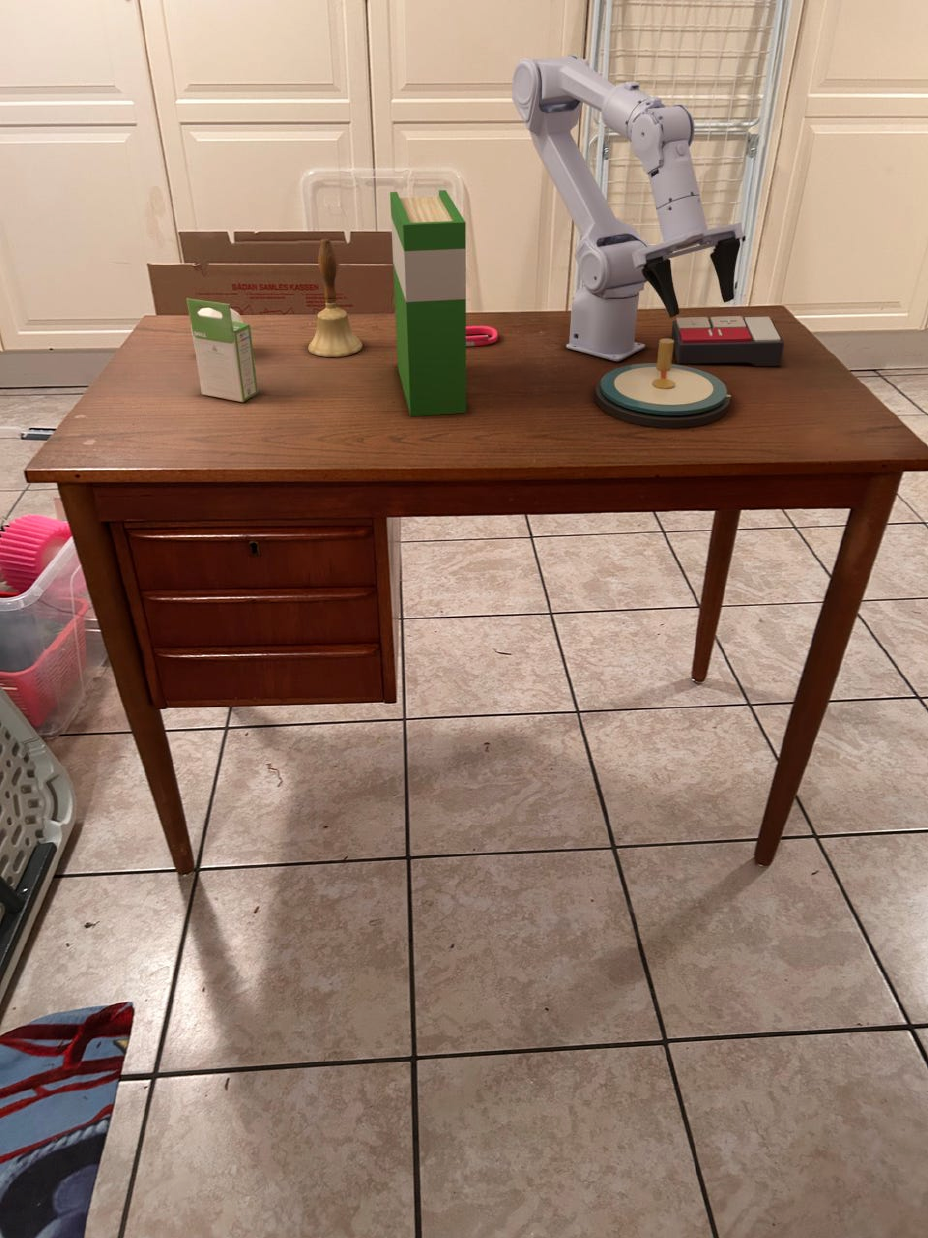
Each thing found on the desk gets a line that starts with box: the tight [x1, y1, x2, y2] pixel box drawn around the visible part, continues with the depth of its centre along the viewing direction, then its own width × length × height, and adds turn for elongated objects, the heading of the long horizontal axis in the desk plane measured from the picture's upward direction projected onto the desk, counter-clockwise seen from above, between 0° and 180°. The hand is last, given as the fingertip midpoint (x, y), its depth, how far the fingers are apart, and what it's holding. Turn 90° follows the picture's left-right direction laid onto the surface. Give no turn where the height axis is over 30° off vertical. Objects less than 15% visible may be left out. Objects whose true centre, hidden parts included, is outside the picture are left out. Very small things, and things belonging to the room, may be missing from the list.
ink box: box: [186, 297, 259, 403], centre depth 128 cm, size 7×4×13 cm, turn 65°
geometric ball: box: [198, 307, 244, 323], centre depth 142 cm, size 8×8×8 cm
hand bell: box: [307, 238, 364, 358], centre depth 142 cm, size 8×8×16 cm
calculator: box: [670, 315, 785, 367], centre depth 144 cm, size 11×4×15 cm
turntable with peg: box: [600, 337, 728, 415], centre depth 128 cm, size 17×17×5 cm
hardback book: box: [389, 189, 467, 417], centre depth 127 cm, size 18×7×24 cm, turn 9°
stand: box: [594, 380, 732, 429], centre depth 130 cm, size 18×18×1 cm
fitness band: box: [466, 325, 499, 348], centre depth 149 cm, size 8×6×2 cm
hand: (701, 308), depth 127 cm, fingers open, 7 cm apart
